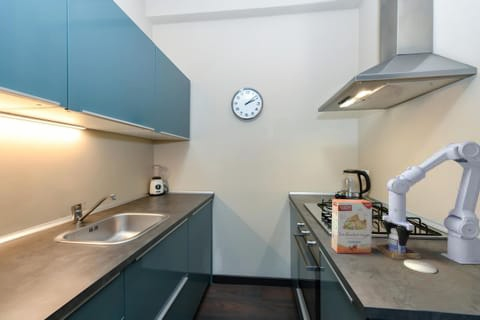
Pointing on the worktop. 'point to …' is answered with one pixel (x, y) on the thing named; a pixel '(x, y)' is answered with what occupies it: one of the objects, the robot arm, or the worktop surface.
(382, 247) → the socket block
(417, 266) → the white disc
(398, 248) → the pill bottle
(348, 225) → the cracker box
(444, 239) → the worktop surface
